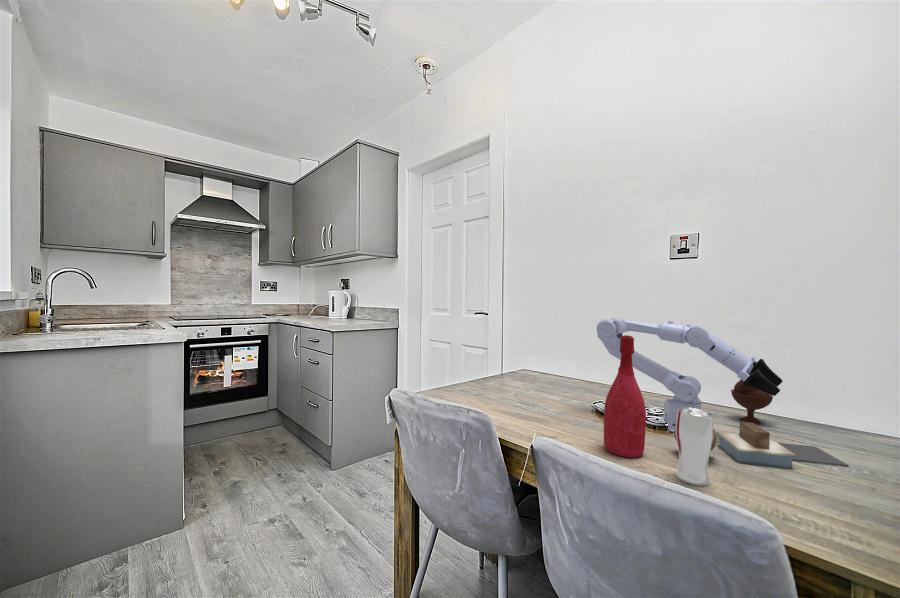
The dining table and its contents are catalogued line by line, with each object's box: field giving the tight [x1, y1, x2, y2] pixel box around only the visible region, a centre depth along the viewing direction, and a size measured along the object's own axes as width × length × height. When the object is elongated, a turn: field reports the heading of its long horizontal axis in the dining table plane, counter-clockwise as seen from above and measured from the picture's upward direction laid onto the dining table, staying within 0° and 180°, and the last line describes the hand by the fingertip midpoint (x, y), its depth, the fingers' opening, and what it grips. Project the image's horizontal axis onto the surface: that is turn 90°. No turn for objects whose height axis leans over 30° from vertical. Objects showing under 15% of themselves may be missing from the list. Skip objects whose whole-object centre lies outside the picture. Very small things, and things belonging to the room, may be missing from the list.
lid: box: [716, 421, 796, 457], centre depth 98 cm, size 12×12×4 cm
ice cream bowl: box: [730, 379, 774, 425], centre depth 127 cm, size 11×11×15 cm
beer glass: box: [676, 407, 714, 487], centre depth 85 cm, size 7×7×15 cm
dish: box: [718, 436, 793, 469], centre depth 98 cm, size 11×11×3 cm
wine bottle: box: [603, 334, 647, 458], centre depth 99 cm, size 10×10×30 cm
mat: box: [777, 442, 850, 468], centre depth 101 cm, size 14×12×1 cm
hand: (778, 388), depth 104 cm, fingers open, 7 cm apart
